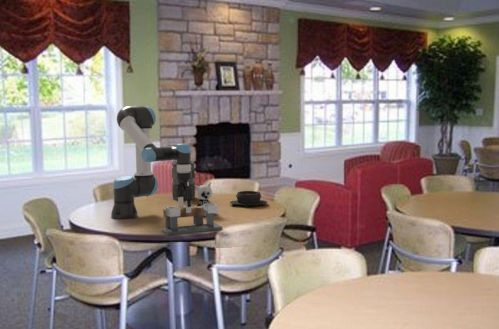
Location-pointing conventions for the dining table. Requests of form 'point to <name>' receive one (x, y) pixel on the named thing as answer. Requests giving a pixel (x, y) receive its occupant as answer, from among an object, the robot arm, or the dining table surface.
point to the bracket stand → (174, 228)
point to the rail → (194, 212)
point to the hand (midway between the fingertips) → (184, 210)
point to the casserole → (248, 198)
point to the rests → (196, 220)
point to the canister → (175, 181)
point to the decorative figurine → (203, 194)
